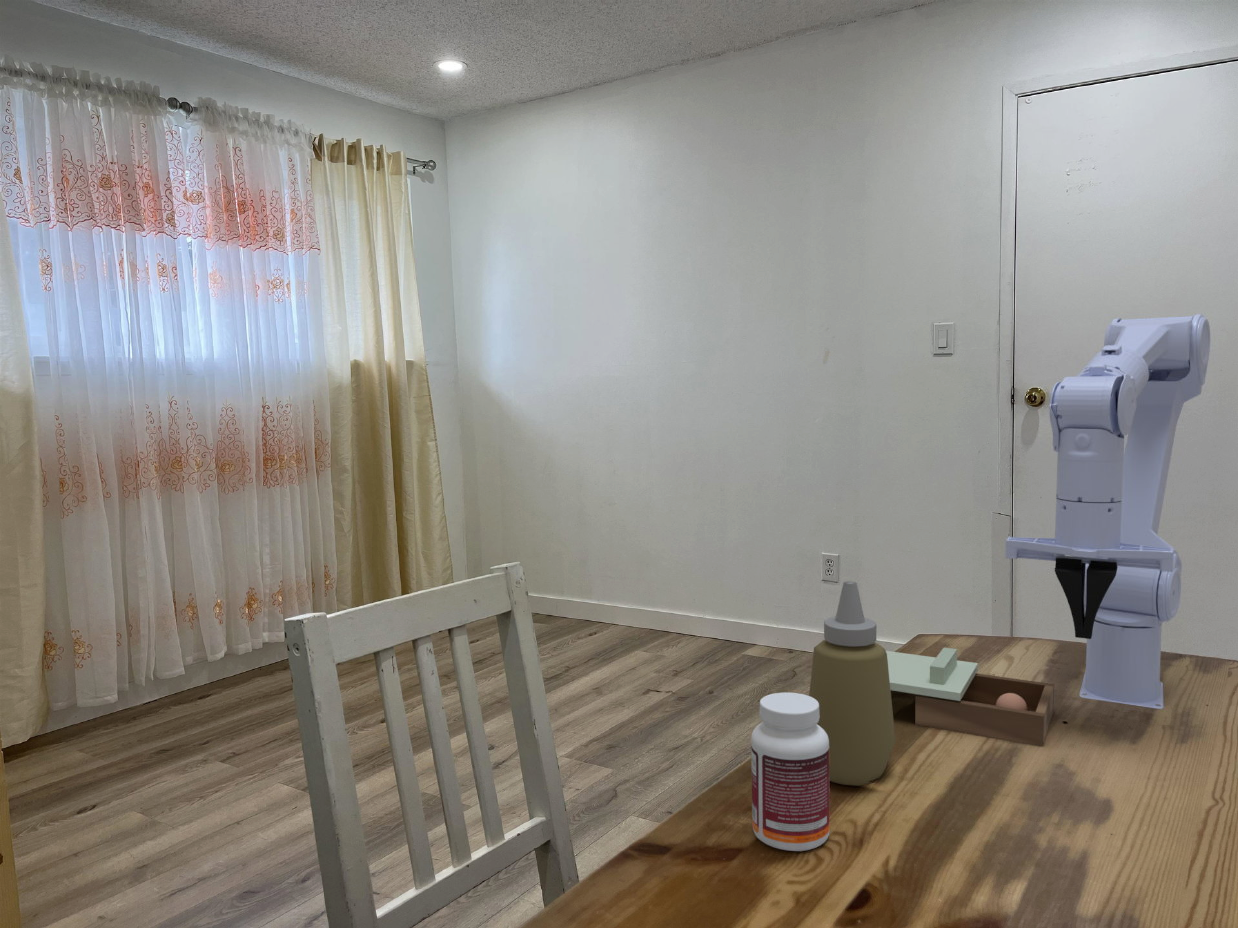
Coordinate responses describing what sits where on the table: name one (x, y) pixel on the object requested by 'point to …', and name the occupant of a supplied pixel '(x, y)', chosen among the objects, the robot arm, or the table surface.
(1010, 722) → the walnut box
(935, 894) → the table surface
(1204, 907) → the table surface
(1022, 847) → the table surface
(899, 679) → the lid
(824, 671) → the squeeze bottle
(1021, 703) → the ball
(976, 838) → the table surface
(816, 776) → the pill bottle
